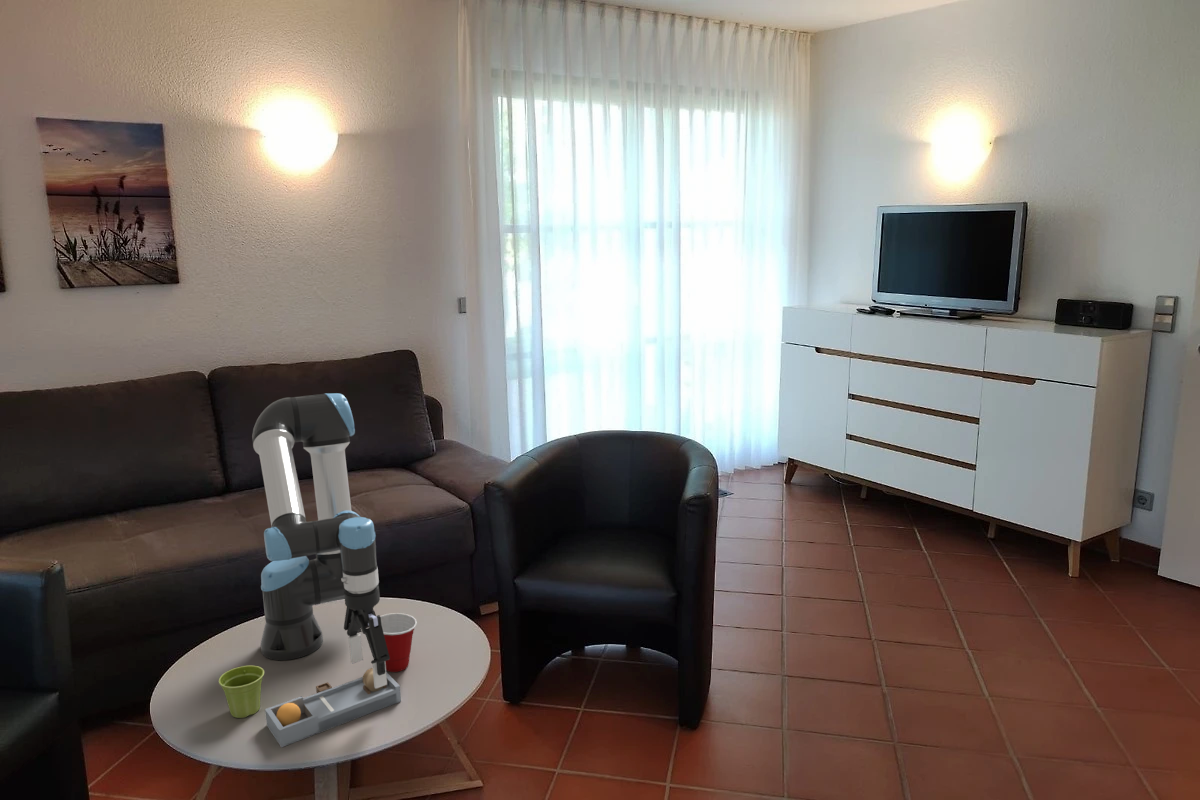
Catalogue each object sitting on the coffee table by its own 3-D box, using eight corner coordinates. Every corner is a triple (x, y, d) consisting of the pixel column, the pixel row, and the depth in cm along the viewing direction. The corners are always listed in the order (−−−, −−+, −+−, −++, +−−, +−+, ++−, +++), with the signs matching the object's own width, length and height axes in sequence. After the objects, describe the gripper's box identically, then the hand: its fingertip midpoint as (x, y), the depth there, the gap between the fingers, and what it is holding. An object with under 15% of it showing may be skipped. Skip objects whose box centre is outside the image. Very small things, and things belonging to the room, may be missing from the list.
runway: (266, 725, 183) (264, 709, 182) (383, 682, 199) (381, 667, 198) (281, 747, 175) (279, 730, 174) (401, 701, 191) (399, 685, 190)
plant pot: (234, 698, 193) (230, 664, 191) (274, 699, 193) (270, 664, 191) (215, 722, 184) (210, 687, 182) (257, 722, 184) (253, 687, 182)
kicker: (363, 688, 192) (361, 671, 191) (381, 682, 194) (379, 665, 193) (368, 694, 189) (366, 676, 189) (386, 687, 192) (385, 670, 191)
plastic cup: (417, 676, 202) (414, 630, 199) (372, 679, 200) (368, 633, 198) (421, 653, 212) (418, 610, 210) (378, 656, 211) (375, 612, 208)
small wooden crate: (316, 696, 194) (315, 686, 193) (328, 692, 195) (327, 682, 195) (321, 701, 191) (320, 691, 191) (333, 697, 193) (332, 687, 192)
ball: (295, 717, 185) (273, 725, 182) (293, 696, 185) (271, 704, 181) (305, 725, 182) (283, 734, 178) (303, 703, 181) (281, 712, 178)
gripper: (324, 573, 193) (332, 657, 198) (367, 611, 174) (375, 703, 178) (355, 565, 198) (362, 646, 202) (401, 601, 178) (407, 690, 183)
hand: (368, 673), depth 190 cm, fingers open, 13 cm apart
